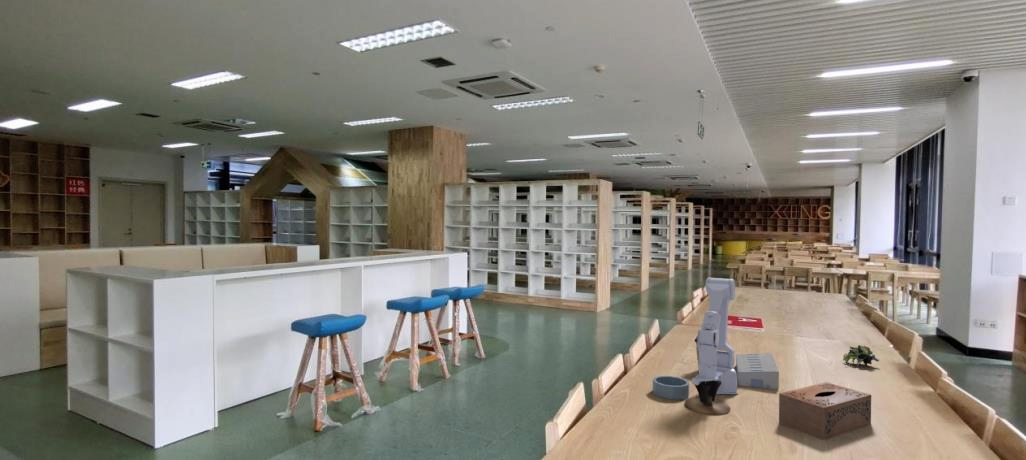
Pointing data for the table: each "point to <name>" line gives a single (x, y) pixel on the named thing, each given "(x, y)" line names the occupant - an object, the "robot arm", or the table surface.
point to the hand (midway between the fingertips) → (707, 401)
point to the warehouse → (757, 370)
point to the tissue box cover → (825, 410)
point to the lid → (707, 406)
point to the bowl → (671, 387)
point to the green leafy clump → (860, 355)
